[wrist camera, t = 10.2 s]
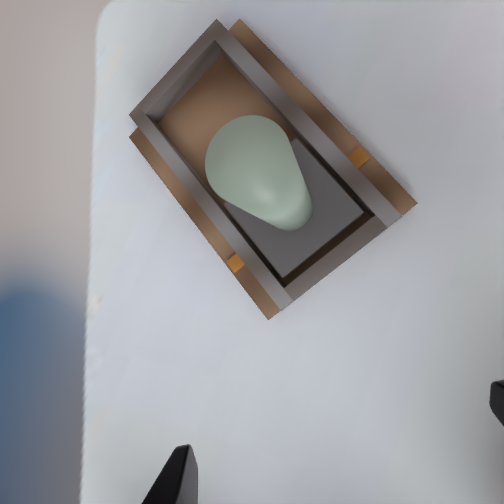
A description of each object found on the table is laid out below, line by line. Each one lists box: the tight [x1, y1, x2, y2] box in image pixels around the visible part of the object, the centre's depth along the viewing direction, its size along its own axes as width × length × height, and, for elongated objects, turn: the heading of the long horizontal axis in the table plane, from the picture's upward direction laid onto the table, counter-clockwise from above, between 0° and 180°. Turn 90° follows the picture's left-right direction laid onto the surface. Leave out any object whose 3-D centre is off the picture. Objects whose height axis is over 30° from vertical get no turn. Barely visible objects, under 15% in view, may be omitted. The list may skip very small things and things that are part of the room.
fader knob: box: [205, 115, 363, 278], centre depth 14 cm, size 6×6×11 cm
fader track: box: [129, 19, 418, 320], centre depth 21 cm, size 18×12×3 cm, turn 39°
